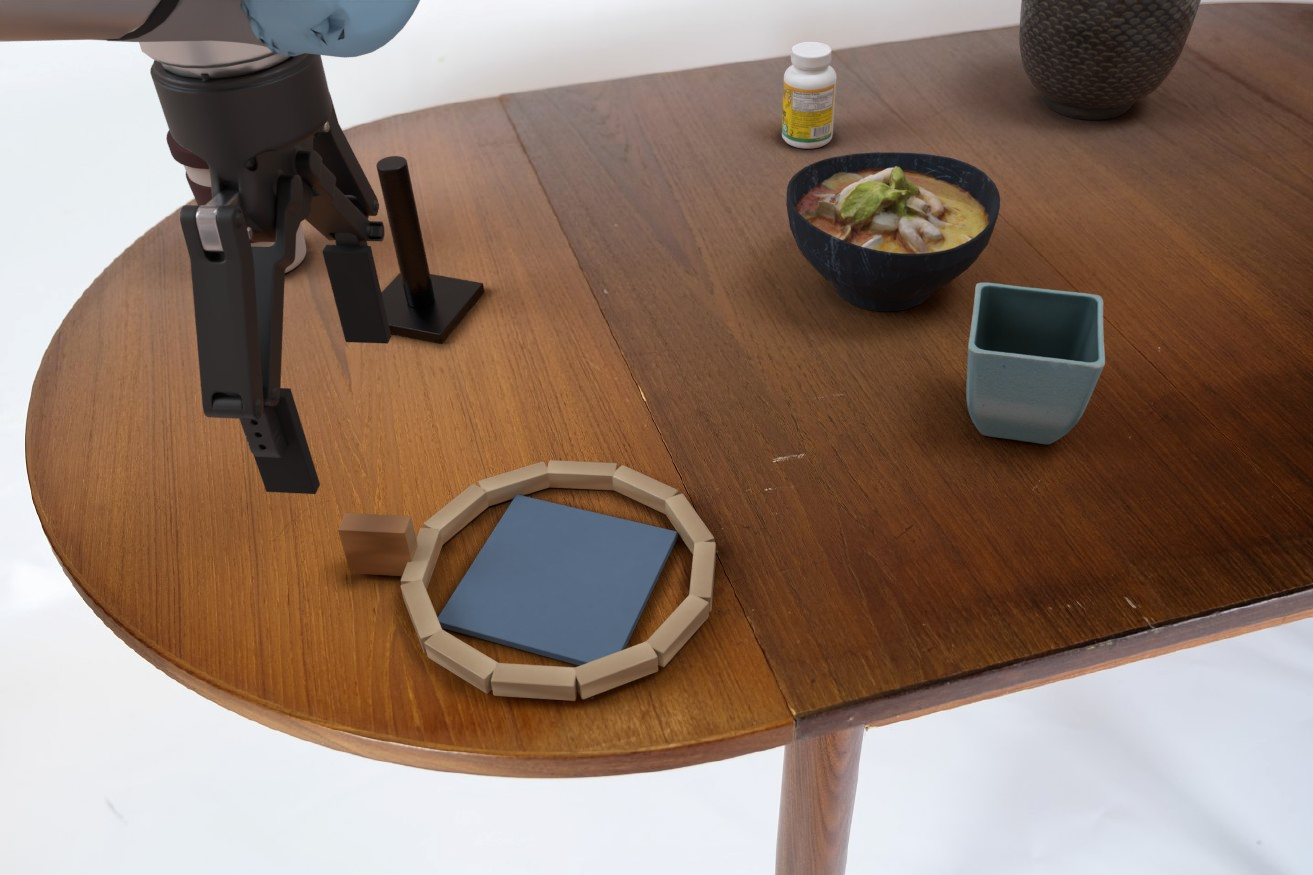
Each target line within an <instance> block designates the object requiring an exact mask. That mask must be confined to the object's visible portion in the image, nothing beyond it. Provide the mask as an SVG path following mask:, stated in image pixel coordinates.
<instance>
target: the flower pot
mask: <svg viewBox="0 0 1313 875" xmlns="http://www.w3.org/2000/svg"><path fill="white" fill-rule="evenodd" d="M1104 332H1105V331H1104V300H1103V297H1102V296H1101V295H1098V294H1093V293H1086V292H1075V291H1066V290H1057V289H1048V288H1039V287H1028V286H1020V285H1019V286H1018V285H1011V284H1003V283H995V282H978V283H976V284H975V289H974V300H973V308H972V315H971V325H970V331H969V337H968V338H969V339H968V343H967V344H968V345H967V363H966V385H965V396H966V397H965V398H966V406H967V411H968V414H969V416H970V419H971V421H972V423H973V425H974V426H975V428H976V430H977V431H978V433H979V434H981V435H982V436H985V437H990V438H991V437H992V438H999V439H1004V440H1005V439H1007V440H1013V441H1020V442H1027V443H1034V444H1041V445H1051V444H1053V443H1055V442H1057V441H1058V440H1060V439H1062V438H1063V437H1064V436H1066V435H1067V434H1068V433H1069V432H1070V431H1072V429H1074V428H1075V426H1077V424H1078V423H1079V421H1080V420H1081V418H1082V417H1083V415H1084V414H1085V411H1086V410H1087V407H1088V405H1089V402H1090V400H1091V398H1092V395H1093V393H1094V391H1095V389H1096V386H1097V384H1098V381H1099V379H1100V377H1101V375H1102V372H1103V370H1104V368H1105V366H1106V354H1105V353H1106V352H1105V338H1104Z"/></svg>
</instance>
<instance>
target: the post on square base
mask: <svg viewBox="0 0 1313 875" xmlns="http://www.w3.org/2000/svg"><path fill="white" fill-rule="evenodd" d="M375 167H376V170H377V176H378V179H379V184H380V188H381V192H382V197H383V198H382V199H383V202H384V207H385V211H386V215H387V219H388V224H389V230H390V233H391V238H392V242H393V247H394V252H395V255H396V261H397V265H398V268H399V269H398V270H399V273H398V274H397V276H395V277H394V278H393V280H392V281H391V282H390V283H389V284H388V285H387V286H386V287H385V288H384V289H383V290H381V293H382V298H383V302H384V306H385V311H386V315H387V320H388V324H389V329H390V333H391V335H395V336H401V337H405V338H411V339H416V340H420V341H426V342H430V343H435V344H436V343H437V344H443V343H444V342H445V341H446V339H447V338H448V337H449V336H450V334H451V333H453V331H454V330H455V329H456V327H457V326H458V325H459V324H460V323H461V321H462V320H463V319H464V318H465V317H466V315H467V314H468V313H469V312H470V311H471V309H472V308H473V307H474V305H476V303H477V302H478V301H479V299H480V298H481V297H482V296H483V295H484V293H485V288H484V283H483V282H480V281H473V280H468V279H462V278H457V277H451V276H445V275H438V274H434V273H430V272H431V271H430V268H429V263H428V258H427V252H426V248H425V243H424V238H423V232H422V228H421V222H420V218H419V212H418V209H417V204H416V199H415V194H414V189H413V184H412V178H411V173H410V169H409V164H408V160H407V159H406V157H403V156H401V155H400V156H399V155H391V156H385V157H382V158H381V159H379V160H378V161H377V162H376V166H375Z"/></svg>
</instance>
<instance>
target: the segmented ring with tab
mask: <svg viewBox="0 0 1313 875" xmlns="http://www.w3.org/2000/svg"><path fill="white" fill-rule="evenodd" d="M477 484H478V485H477ZM477 484H475V483H472V484H470V485H469V486H468V487H467V488H465V489H464V490H463V491H462V492H461V493H459V494H458V495H456V497H454V498H453V499H451V501H449V502H448V503H446V504H445V505H444V506H443V507H442V508H441V509H439V510H438V511H437V512H435V513H434V514H433V515H432V516H431V517H430V518H428V519H427V520H426V521H424V523H423V527H420V528H419V531H418V533H417V535H416V531H415V527H414V522H413V517H412V515H400V514H399V515H398V514H377V513H357V512H356V513H354V512H345V513H344V515H343V517H342V520H341V522H340V524H339V526H338V528H337V533H338V535H339V539H340V542H341V546H342V550H343V553H344V557H345V560H346V564H347V567H348V570H349V574H356V575H372V576H373V575H376V576H390V577H391V576H392V577H393V576H394V577H401V578H400V590H401V594H402V598H403V601H404V605H405V608H406V609H407V612H408V614H409V617H410V620H411V623H412V625H413V627H414V628H413V629H414V631H415V633H416V637H417V639H418V642H419V644H420V647H421V650H422V652H423V654H426V657H427V658H428V659H430V660H431V661H432V662H434V663H436V664H438V665H439V666H441V667H442V668H444V669H445V670H448V671H449V672H450V673H452V674H454V675H456V676H457V677H459V678H460V679H462V680H463V681H465V682H467V683H468V684H470V685H472V686H474V687H475V688H476V689H478V690H480V691H481V692H482V693H484V694H487V695H488V694H489V693H490V692H491V691H492V694H493V696H495V697H509V698H524V699H525V698H526V699H539V700H556V701H557V700H558V701H570V702H571V701H572V702H575V701H576V700H577V694H578V695H579V696H580V698H581V700H586V699H588V698H591V697H593V696H596V695H599V694H601V693H604V692H607V691H610V690H612V689H615V688H618V687H620V686H623V685H625V684H628V683H631V682H633V681H634V682H635V681H636V680H639V679H641V678H644V677H648V676H650V675H652V674H654V673H657V672H659V666H660V667H662V668H665V667H666V666H667V665H668V664H669V662H671V661H672V659H674V657H675V656H676V654H678V652H679V651H680V650H681V649H682V648H683V647H684V645H685V644H686V643H688V641H689V640H690V639H691V638H692V637H693V635H694V634H695V633H696V632H697V631H698V630H699V629H700V627H701V626H702V625H703V624H704V623H705V622H706V621H707V620H708V618H709V616H710V613H711V612H712V609H713V599H714V598H713V596H714V586H715V585H714V584H715V573H716V572H715V571H716V560H717V559H716V558H717V543H716V542H715V537H714V535H713V534H712V533H711V531H710V529H709V528H708V527H707V525H706V524H705V523H704V521H703V519H701V517H700V515H699V514H698V513H697V511H696V510H695V508H694V507H693V505H692V504H691V503H690V501H689V499H688V498H687V497H686V496H685V494H684V493H679V491H680V490H678V489H677V488H675V487H673V486H671V485H668V484H666V483H663V482H661V481H660V480H658V479H655V478H653V477H650V476H648V475H647V474H644V473H641V472H640V471H637V470H635V469H633V468H630V467H628V466H626V465H624V464H622V465H620V466H619V467H618V463H617V462H603V461H602V462H600V461H579V460H578V461H577V460H554V459H553V460H551V459H549V460H548V463H547V465H546V463H545V461H539V462H535V463H532V464H529V465H526V466H522V467H520V468H516V469H513V470H510V471H506V472H503V473H499V474H497V475H493V476H489V477H487V478H483V479H480V480H478V481H477ZM548 488H549V489H550V488H553V489H554V488H555V489H574V490H575V489H576V490H597V491H598V490H600V491H615V492H617V493H619V494H620V495H623V496H625V497H628V498H629V499H631V500H634V501H636V502H637V503H640V504H642V505H644V506H646V507H649V508H651V509H653V510H655V511H657V512H659V513H661V514H664V515H665V516H666V518H667V519H668V520H669V522H670V523H671V525H672V526H673V528H674V529H675V531H677V532H678V536H680V538H681V540H682V542H684V544H685V545H686V547H687V549H688V550H689V551H690V553H691V554H692V563H691V572H690V582H689V592H688V596H686V598H684V600H683V601H682V602H681V603H680V604H679V605H678V606H677V607H676V609H675V610H674V611H673V612H672V613H670V615H669V616H668V617H667V618H666V619H665V620H664V621H663V622H662V623H661V625H660V626H659V627H658V628H657V629H656V630H655V631H654V632H653V633H652V634H651V635H650V636H649V637H648V639H647V640H646V641H644V642H641V643H638V644H636V645H635V644H634V645H633V646H630V647H626V648H625V649H624V650H621V651H619V652H616V653H613V654H611V655H608V656H605V657H602V658H600V659H597V660H594V661H591V662H589V663H586V664H583V665H581V666H579V665H577V666H576V667H572V666H555V665H541V664H539V665H538V664H524V663H523V664H522V663H508V662H507V663H506V662H498V661H496V660H495V659H493V658H491V657H489V656H488V655H486V654H484V653H482V652H481V651H479V650H478V649H477V648H475V647H473V646H471V645H469V644H468V643H466V642H464V641H463V640H461V639H459V638H457V637H456V636H454V635H453V634H451V633H450V632H447V631H446V630H444V629H443V628H441V625H440V623H439V620H438V616H437V613H436V610H435V608H434V605H433V603H432V601H431V600H432V599H431V598H430V596H429V593H428V588H429V585H430V583H431V579H432V576H433V573H434V571H435V568H436V565H437V562H438V559H439V557H440V554H441V551H442V548H443V545H445V543H447V542H448V541H449V540H450V539H452V538H453V537H454V536H456V535H457V533H459V532H460V531H461V530H462V529H464V528H465V527H466V526H467V525H469V524H470V523H471V522H472V521H473V520H474V519H476V518H477V517H478V516H479V515H480V514H481V513H482V512H484V511H486V509H488V508H489V507H491V506H494V505H498V504H501V503H504V502H507V501H512V500H513V499H514V498H515V496H516V495H521V496H527V495H530V494H533V493H536V492H539V491H542V490H545V489H548Z"/></svg>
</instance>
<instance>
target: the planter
mask: <svg viewBox="0 0 1313 875" xmlns="http://www.w3.org/2000/svg"><path fill="white" fill-rule="evenodd" d="M1201 2H1202V0H1021V3H1020V12H1019V32H1018V37H1019V40H1018V42H1019V44H1018V45H1019V52H1020V58H1021V63H1022V67H1023V70H1024V73H1025V74H1026V76H1027V78H1028V79H1029V81H1030V82H1031V84H1032V85H1033V87H1035V88H1036V90H1037V91H1038V92H1040V93H1041V97H1042V100H1043V102H1044V103H1045V105H1046V106H1047V107H1048V108H1049V109H1051V110H1052V112H1055V113H1056V114H1059V115H1062V116H1065V117H1069V118H1073V119H1078V120H1087V121H1101V120H1110V119H1114V118H1118V117H1120V116H1122V115H1124V114H1125V113H1127V112H1128V111H1129V110H1130V109H1131V108H1132V106H1133V105H1134V104H1135V103H1138V102H1140V101H1142V100H1143V99H1145V98H1146V97H1148V96H1149V95H1150V94H1152V93H1153V92H1154V91H1156V90H1157V89H1158V88H1159V87H1160V86H1161V85H1162V84H1163V83H1164V81H1166V79H1167V78H1168V77H1169V75H1170V74H1171V72H1172V71H1173V70H1174V68H1175V67H1176V64H1177V63H1178V60H1179V58H1180V57H1181V54H1182V53H1183V50H1184V47H1185V45H1186V42H1187V39H1188V38H1189V36H1190V32H1191V30H1192V27H1193V24H1194V22H1195V19H1196V15H1197V13H1198V10H1199V7H1200V4H1201Z"/></svg>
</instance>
